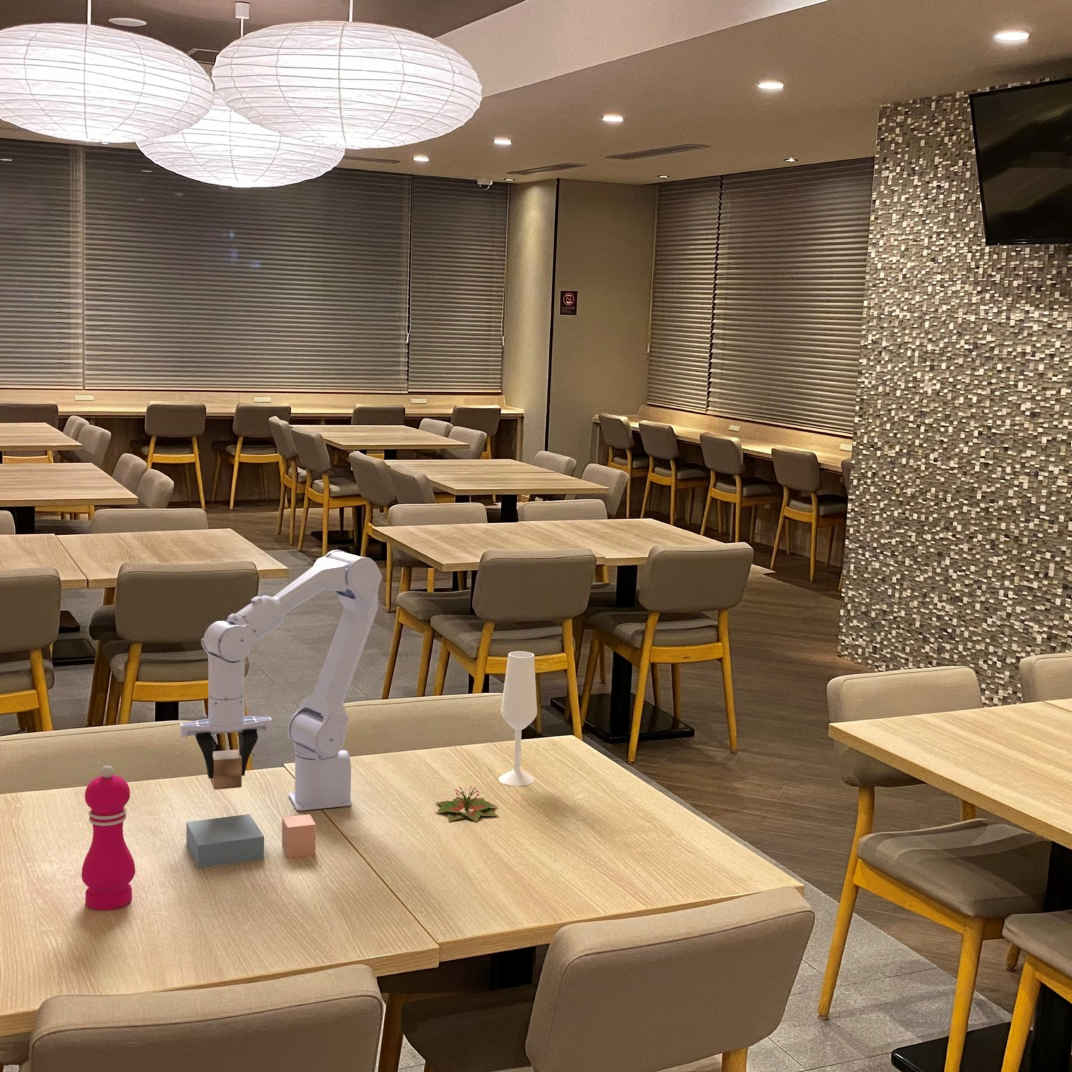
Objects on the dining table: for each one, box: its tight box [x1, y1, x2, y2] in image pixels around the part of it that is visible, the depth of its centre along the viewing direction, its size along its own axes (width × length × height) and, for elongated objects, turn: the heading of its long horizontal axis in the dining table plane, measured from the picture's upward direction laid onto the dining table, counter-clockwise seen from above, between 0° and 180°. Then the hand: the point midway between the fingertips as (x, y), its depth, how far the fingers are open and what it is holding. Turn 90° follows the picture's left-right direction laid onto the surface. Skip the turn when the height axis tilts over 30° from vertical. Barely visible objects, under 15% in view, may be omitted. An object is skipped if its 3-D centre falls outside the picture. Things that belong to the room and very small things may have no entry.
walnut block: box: [210, 749, 243, 791], centre depth 206 cm, size 4×4×5 cm
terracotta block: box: [281, 814, 317, 859], centre depth 197 cm, size 4×4×5 cm
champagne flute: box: [498, 650, 538, 787], centre depth 232 cm, size 7×7×24 cm
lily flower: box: [434, 785, 499, 823], centre depth 217 cm, size 12×12×5 cm
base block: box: [185, 813, 265, 869], centre depth 196 cm, size 10×10×4 cm
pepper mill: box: [80, 765, 136, 911], centre depth 176 cm, size 7×7×20 cm
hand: (226, 775), depth 206 cm, fingers closed on walnut block, 4 cm apart
